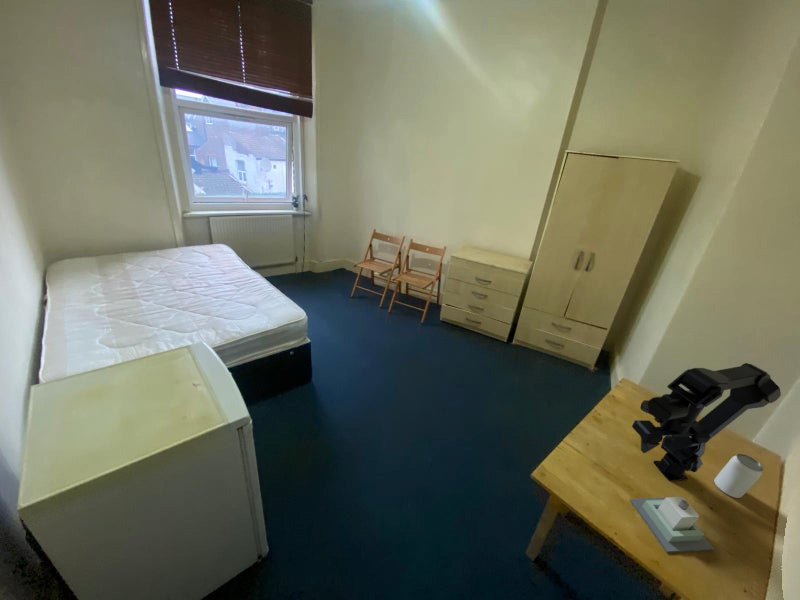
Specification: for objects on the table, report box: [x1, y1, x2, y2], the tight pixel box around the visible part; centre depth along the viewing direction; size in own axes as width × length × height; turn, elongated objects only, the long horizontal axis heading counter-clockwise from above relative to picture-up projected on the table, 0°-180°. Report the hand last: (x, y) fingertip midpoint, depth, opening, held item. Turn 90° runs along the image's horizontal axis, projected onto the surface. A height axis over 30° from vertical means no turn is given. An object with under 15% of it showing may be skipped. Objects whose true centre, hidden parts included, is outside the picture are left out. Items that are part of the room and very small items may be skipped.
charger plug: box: [657, 496, 700, 531], centre depth 85 cm, size 5×5×8 cm
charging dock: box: [629, 497, 714, 553], centre depth 86 cm, size 13×13×3 cm
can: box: [713, 453, 764, 499], centre depth 96 cm, size 6×6×12 cm
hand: (657, 451), depth 93 cm, fingers open, 9 cm apart
